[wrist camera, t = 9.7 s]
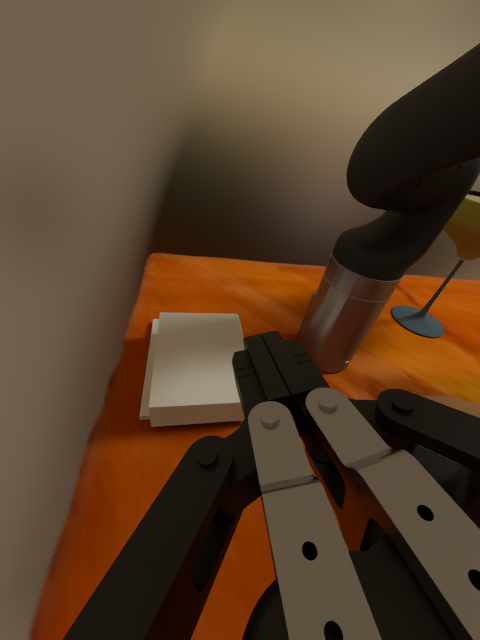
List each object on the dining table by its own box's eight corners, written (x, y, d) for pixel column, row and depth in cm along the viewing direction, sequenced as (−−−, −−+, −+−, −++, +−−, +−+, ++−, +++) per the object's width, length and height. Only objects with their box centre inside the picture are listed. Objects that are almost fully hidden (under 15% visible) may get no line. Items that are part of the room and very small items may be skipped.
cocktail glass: (361, 295, 63) (421, 181, 47) (424, 299, 67) (500, 194, 51) (406, 350, 49) (512, 216, 34) (483, 351, 53) (611, 230, 37)
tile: (151, 428, 30) (161, 333, 42) (252, 421, 33) (234, 333, 45) (148, 407, 27) (159, 312, 39) (258, 401, 30) (237, 313, 42)
